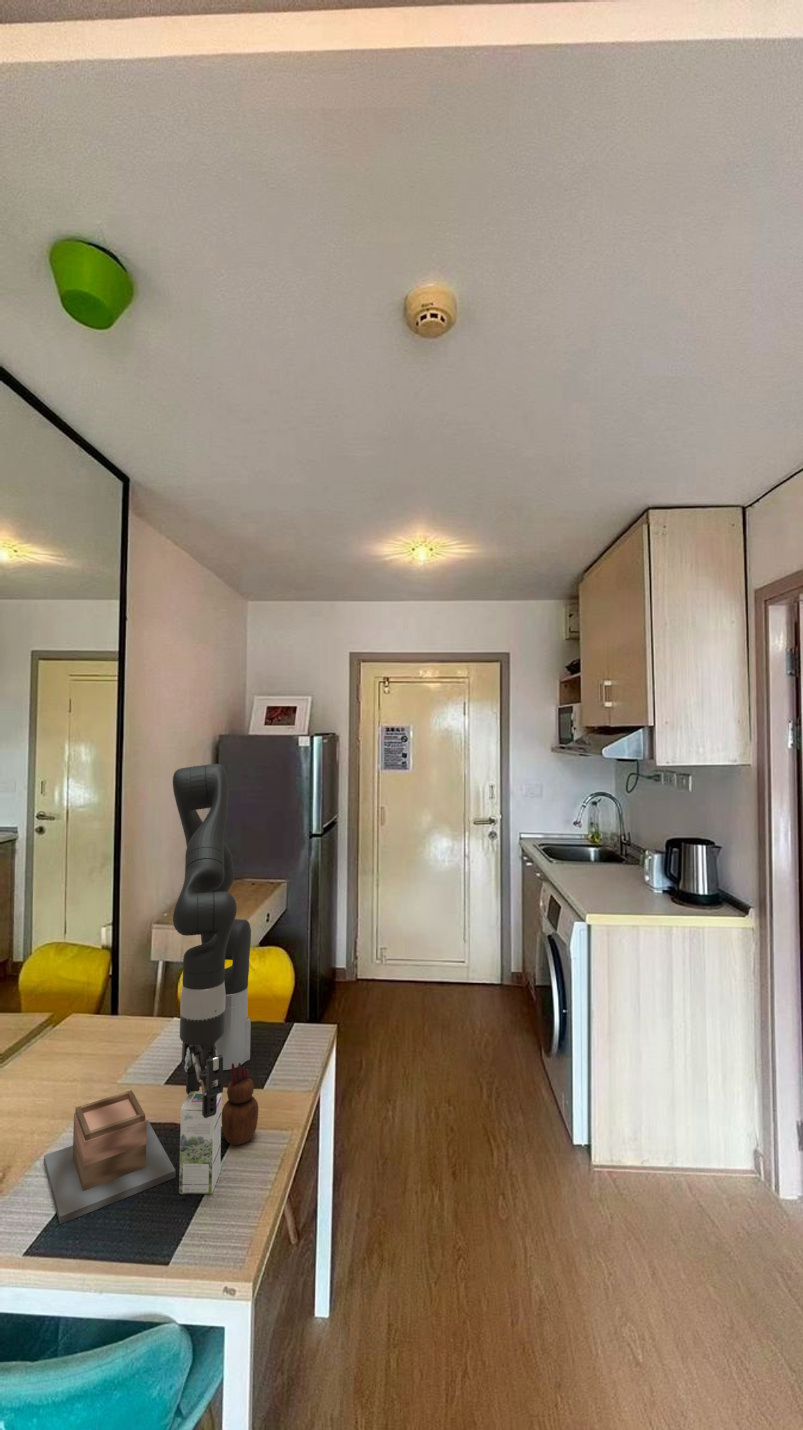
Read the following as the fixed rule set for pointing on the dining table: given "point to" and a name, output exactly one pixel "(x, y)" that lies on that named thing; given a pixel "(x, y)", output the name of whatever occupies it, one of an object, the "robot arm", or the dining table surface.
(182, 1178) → the syrup box
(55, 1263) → the dining table surface
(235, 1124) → the wooden figurine
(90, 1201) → the tower base
